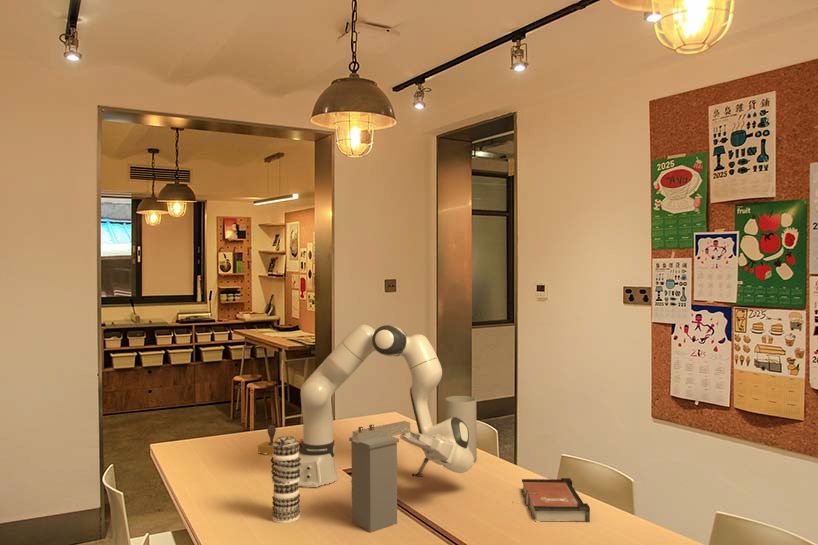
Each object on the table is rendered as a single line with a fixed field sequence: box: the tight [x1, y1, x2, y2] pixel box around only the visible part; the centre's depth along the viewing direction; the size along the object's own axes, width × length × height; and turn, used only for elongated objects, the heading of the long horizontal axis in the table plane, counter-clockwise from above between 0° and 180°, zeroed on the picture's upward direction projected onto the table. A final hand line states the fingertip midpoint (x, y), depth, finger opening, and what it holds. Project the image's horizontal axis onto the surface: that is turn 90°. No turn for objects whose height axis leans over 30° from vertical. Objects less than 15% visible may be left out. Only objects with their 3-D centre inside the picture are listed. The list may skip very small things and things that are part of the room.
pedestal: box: [348, 436, 400, 533], centre depth 187 cm, size 11×11×26 cm
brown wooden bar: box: [352, 420, 411, 443], centre depth 188 cm, size 20×3×4 cm, turn 129°
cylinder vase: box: [445, 395, 478, 463], centre depth 248 cm, size 12×12×25 cm
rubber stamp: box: [257, 424, 277, 454], centre depth 259 cm, size 10×6×12 cm, turn 69°
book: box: [521, 477, 591, 523], centre depth 200 cm, size 26×18×5 cm
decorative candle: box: [270, 435, 301, 524], centre depth 191 cm, size 9×9×25 cm
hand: (409, 433), depth 195 cm, fingers open, 8 cm apart
